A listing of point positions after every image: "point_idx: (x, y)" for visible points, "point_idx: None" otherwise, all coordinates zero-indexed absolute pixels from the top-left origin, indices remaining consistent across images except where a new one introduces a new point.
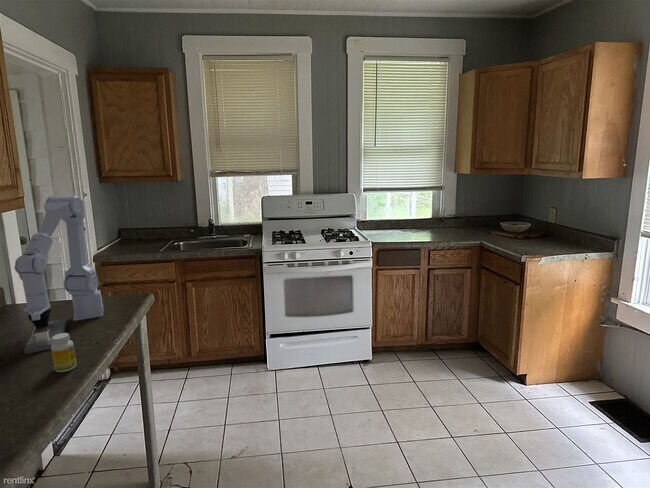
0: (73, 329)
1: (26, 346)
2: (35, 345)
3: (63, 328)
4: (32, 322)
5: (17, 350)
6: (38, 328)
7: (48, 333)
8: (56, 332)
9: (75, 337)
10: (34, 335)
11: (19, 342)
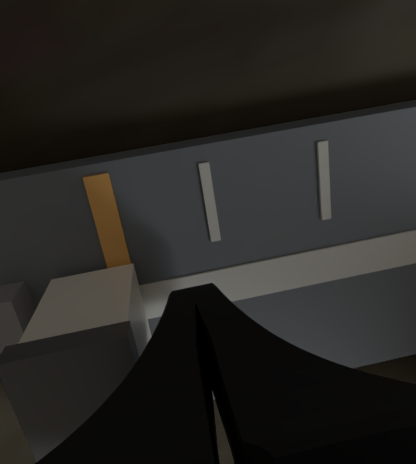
0: (398, 379)
1: (26, 186)
2: (33, 268)
3: (396, 353)
4: (94, 413)
5: (84, 64)
6: (119, 378)
7: (315, 283)
8: (311, 340)
9: (226, 439)
10: (319, 166)
11: (306, 8)
